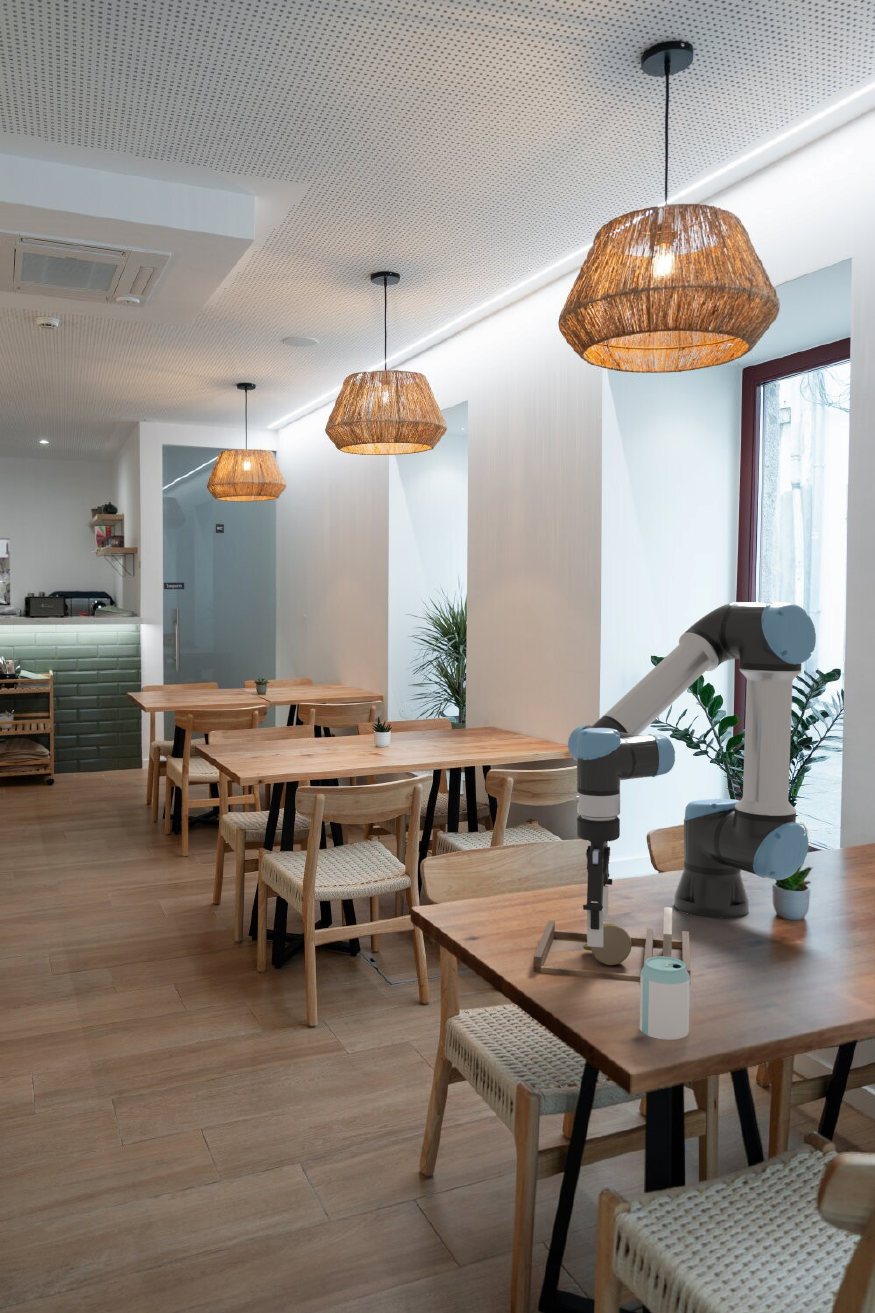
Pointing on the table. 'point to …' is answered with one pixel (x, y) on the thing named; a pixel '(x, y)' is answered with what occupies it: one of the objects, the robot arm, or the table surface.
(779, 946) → the table surface
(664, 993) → the can
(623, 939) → the mug
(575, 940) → the rack
